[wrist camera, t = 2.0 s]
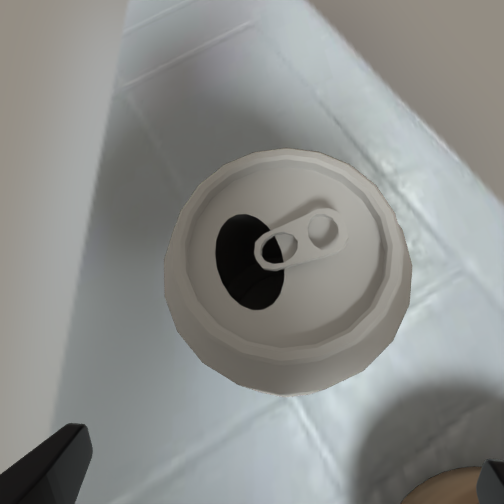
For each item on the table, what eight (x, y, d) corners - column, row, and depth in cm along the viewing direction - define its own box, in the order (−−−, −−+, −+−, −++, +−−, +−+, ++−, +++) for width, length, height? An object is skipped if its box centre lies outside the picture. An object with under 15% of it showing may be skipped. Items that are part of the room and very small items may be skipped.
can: (206, 281, 22) (125, 163, 11) (328, 247, 23) (368, 97, 11) (236, 415, 20) (170, 433, 9) (375, 375, 20) (489, 342, 9)
